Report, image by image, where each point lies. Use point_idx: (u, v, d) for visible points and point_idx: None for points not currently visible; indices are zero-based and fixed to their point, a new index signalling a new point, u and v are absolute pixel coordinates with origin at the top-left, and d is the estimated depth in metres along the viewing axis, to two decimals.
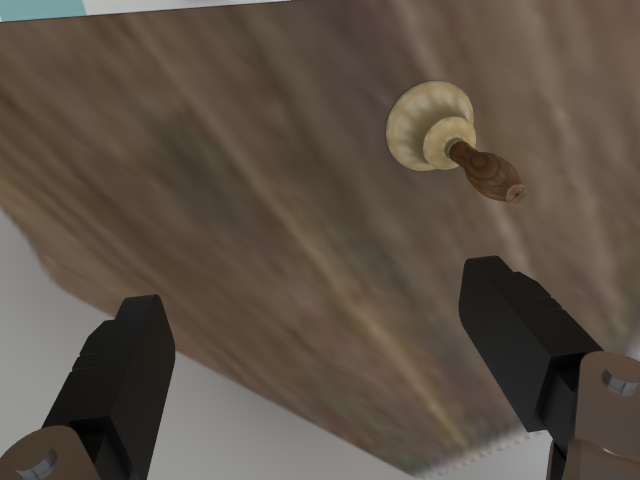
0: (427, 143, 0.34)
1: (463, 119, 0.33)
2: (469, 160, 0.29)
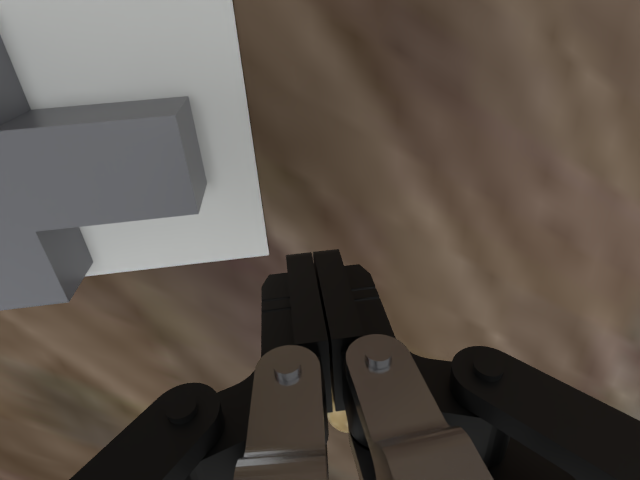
0: (331, 416, 0.29)
1: None
2: None
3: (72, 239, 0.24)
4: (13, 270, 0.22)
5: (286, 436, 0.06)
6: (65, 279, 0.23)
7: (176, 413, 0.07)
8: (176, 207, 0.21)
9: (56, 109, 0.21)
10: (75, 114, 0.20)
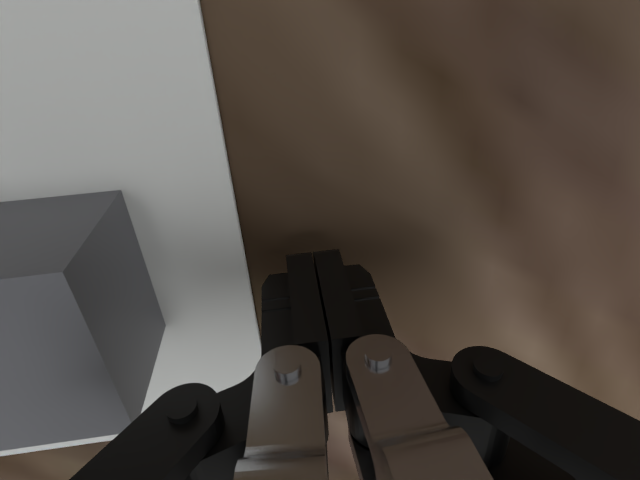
0: None
1: None
2: None
3: None
4: None
5: (286, 436, 0.06)
6: None
7: (176, 413, 0.07)
8: (88, 425, 0.10)
9: None
10: None
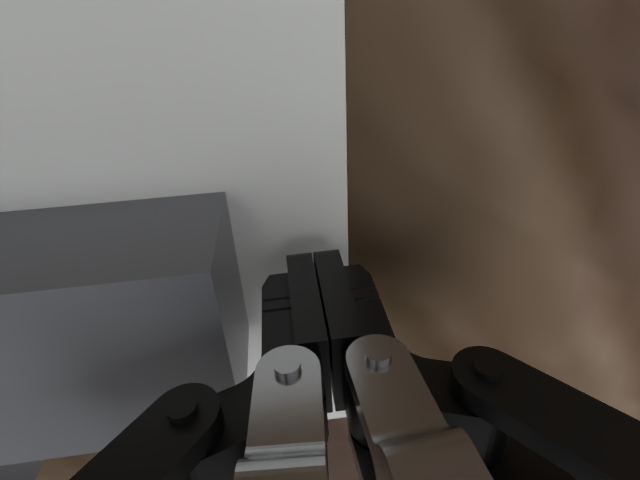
0: None
1: None
2: None
3: None
4: None
5: (286, 436, 0.06)
6: None
7: (176, 413, 0.07)
8: None
9: None
10: None
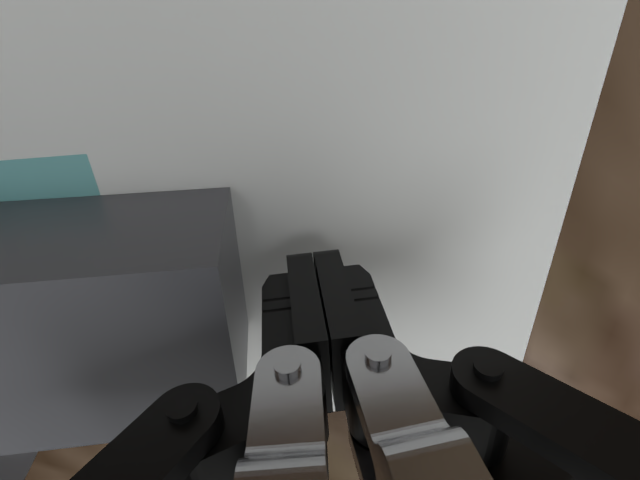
0: None
1: None
2: None
3: None
4: None
5: (286, 436, 0.06)
6: None
7: (176, 413, 0.07)
8: None
9: None
10: None
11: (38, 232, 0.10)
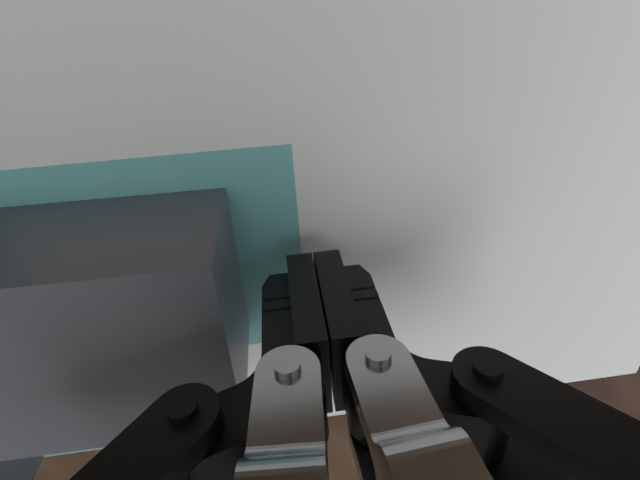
0: None
1: None
2: None
3: None
4: None
5: (286, 436, 0.06)
6: None
7: (176, 413, 0.07)
8: None
9: None
10: None
11: (34, 237, 0.10)
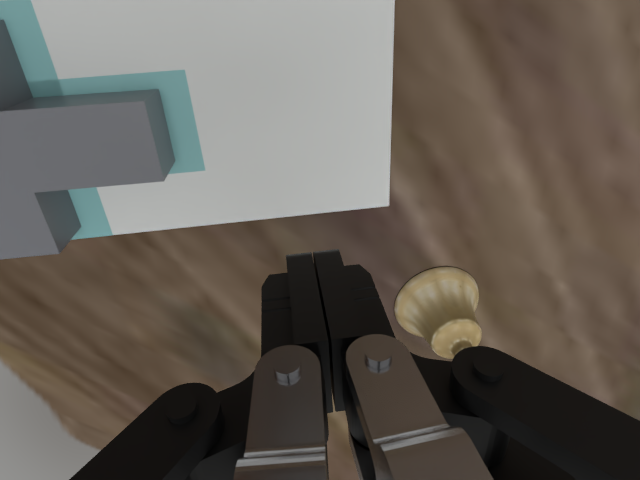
0: (435, 341, 0.36)
1: (469, 321, 0.35)
2: None
3: (64, 204, 0.30)
4: (15, 224, 0.27)
5: (286, 436, 0.06)
6: (57, 235, 0.28)
7: (176, 413, 0.07)
8: (146, 175, 0.27)
9: (53, 97, 0.27)
10: (67, 100, 0.26)
11: (82, 99, 0.26)
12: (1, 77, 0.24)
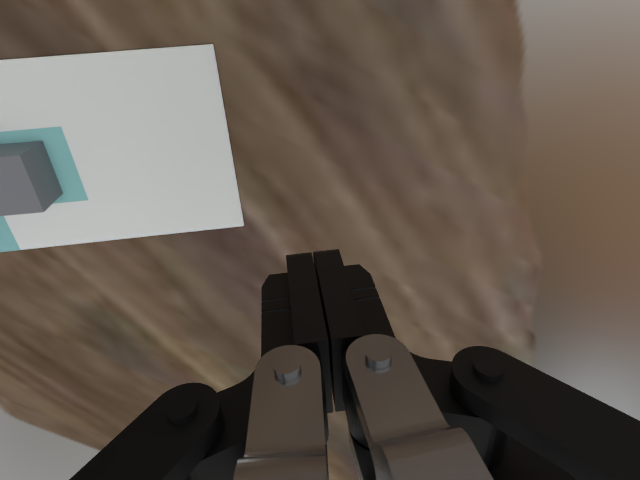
0: None
1: None
2: None
3: None
4: None
5: (286, 436, 0.06)
6: None
7: (176, 413, 0.07)
8: (29, 208, 0.35)
9: None
10: None
11: None
12: None
